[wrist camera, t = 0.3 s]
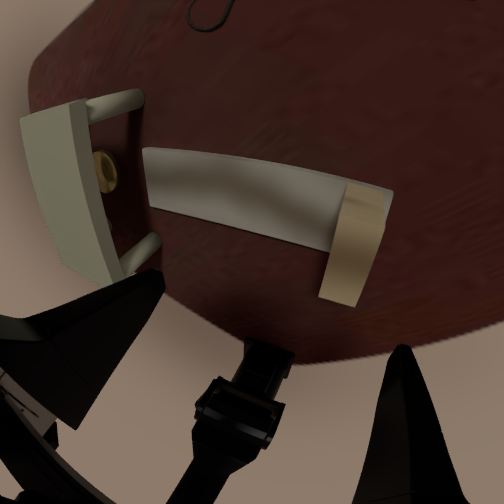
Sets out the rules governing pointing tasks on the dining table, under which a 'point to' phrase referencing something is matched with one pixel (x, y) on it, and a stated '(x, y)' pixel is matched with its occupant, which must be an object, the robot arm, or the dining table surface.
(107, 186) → the token
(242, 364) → the robot arm
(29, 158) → the miniature white bench
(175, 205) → the scraper
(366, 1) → the dining table surface
